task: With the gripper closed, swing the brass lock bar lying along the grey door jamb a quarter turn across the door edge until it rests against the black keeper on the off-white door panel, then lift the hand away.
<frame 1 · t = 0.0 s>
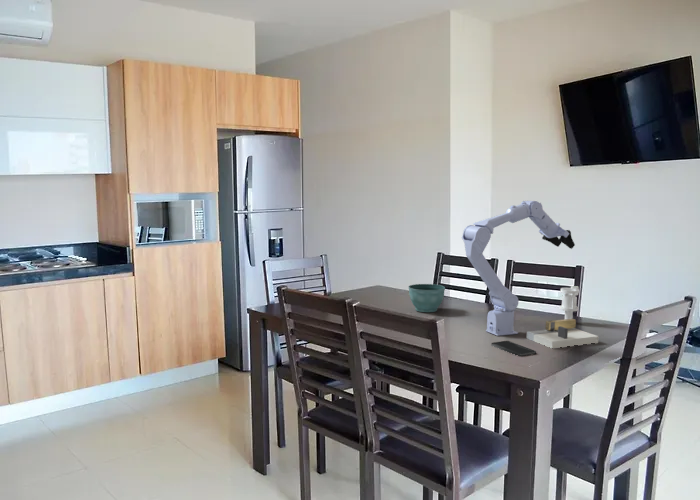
hand: (566, 245, 224), 32 cm above the table, fingers open, 7 cm apart
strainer: (568, 323, 234), on the table
flower pot: (426, 311, 256), on the table
phone: (513, 350, 196), on the table
lock bar: (560, 324, 212), point 4 cm above the table, hinge at 0.0°
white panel: (561, 340, 207), on the table
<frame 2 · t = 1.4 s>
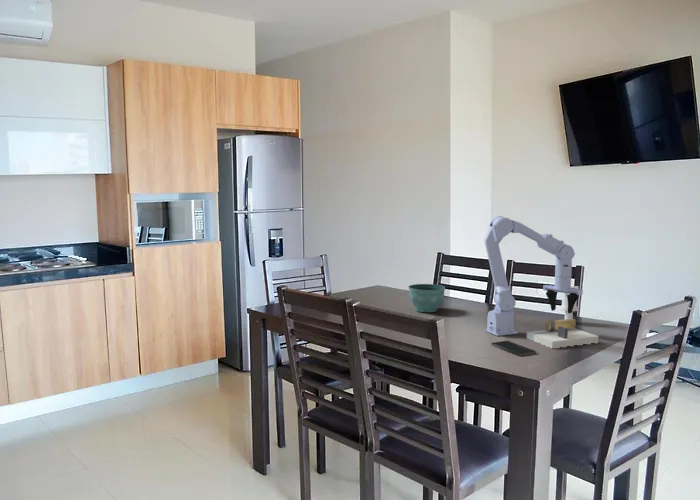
hand: (561, 311, 216), 8 cm above the table, fingers open, 6 cm apart
nothing on the table moved.
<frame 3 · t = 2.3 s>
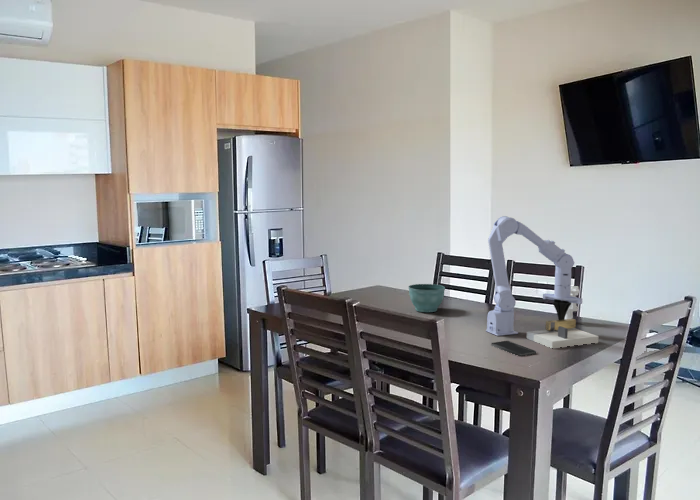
hand: (561, 320, 217), 5 cm above the table, fingers closed
nothing on the table moved.
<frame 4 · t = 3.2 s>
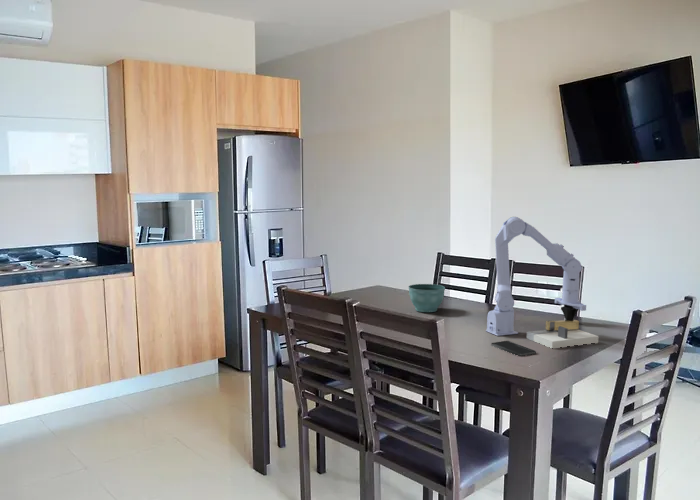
hand: (568, 325, 214), 4 cm above the table, fingers closed, pressing on lock bar
lock bar: (562, 325, 211), point 4 cm above the table, hinge at 11.5°, touching gripper
everything else where it was.
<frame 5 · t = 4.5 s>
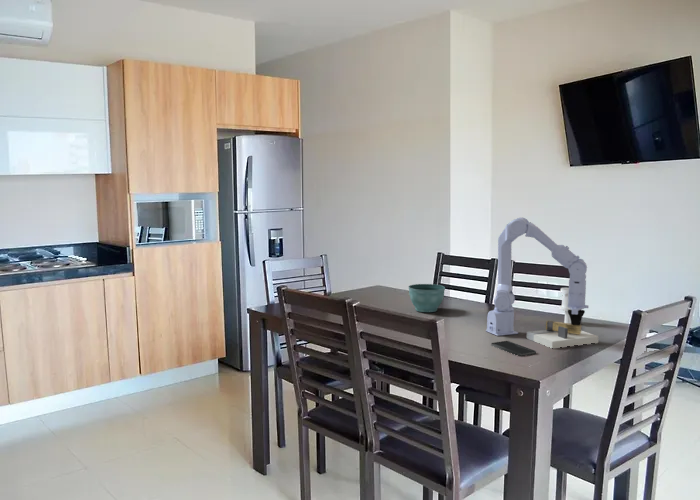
hand: (575, 329, 207), 4 cm above the table, fingers closed, pressing on lock bar
lock bar: (563, 327, 208), point 4 cm above the table, hinge at 55.4°, touching gripper
everything else where it was.
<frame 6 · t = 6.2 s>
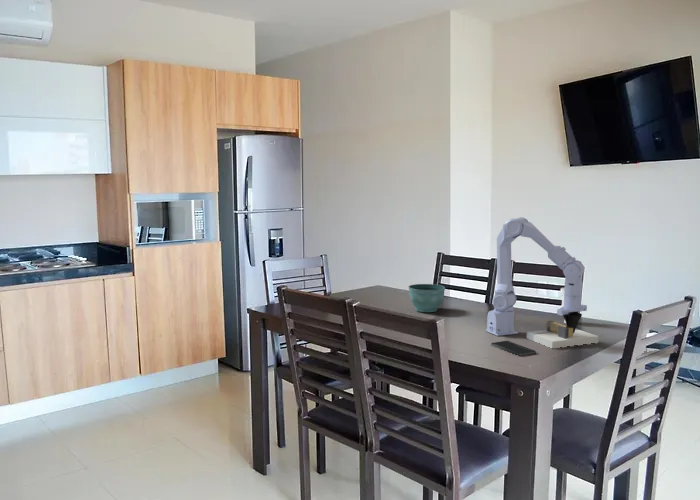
hand: (571, 332, 204), 4 cm above the table, fingers closed
lock bar: (559, 328, 207), point 4 cm above the table, hinge at 90.2°, touching gripper
everything else where it was.
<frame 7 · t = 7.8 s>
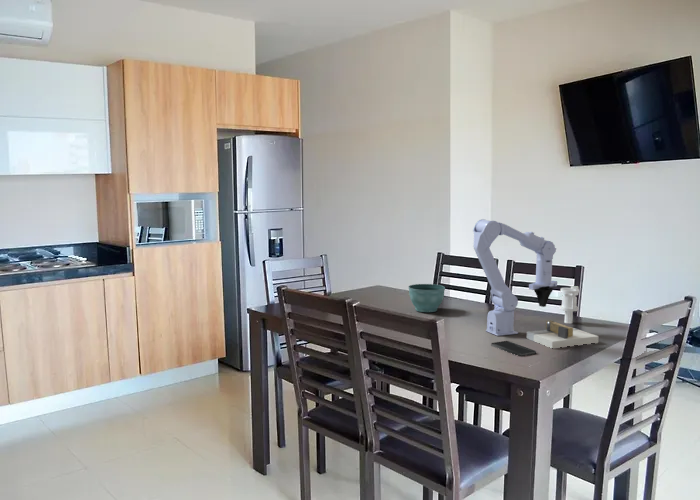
hand: (542, 306, 221), 9 cm above the table, fingers closed
lock bar: (559, 328, 207), point 4 cm above the table, hinge at 90.6°
everything else where it was.
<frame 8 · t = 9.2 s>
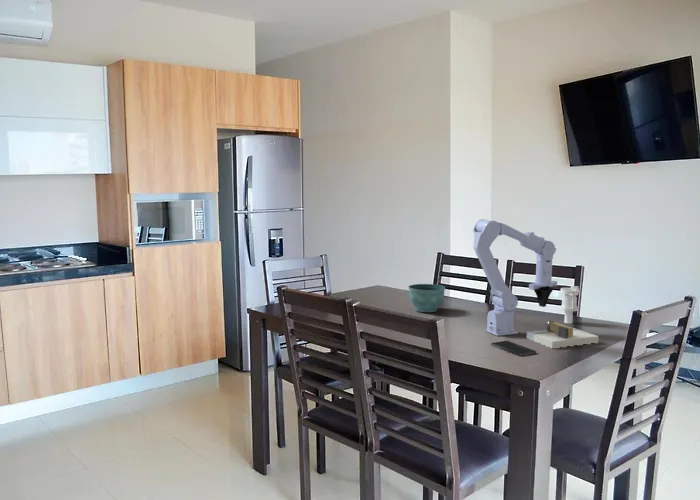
hand: (542, 306, 221), 9 cm above the table, fingers closed
nothing on the table moved.
at the end: lock bar at +91° (first picture: +0°); the gripper is holding nothing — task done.
